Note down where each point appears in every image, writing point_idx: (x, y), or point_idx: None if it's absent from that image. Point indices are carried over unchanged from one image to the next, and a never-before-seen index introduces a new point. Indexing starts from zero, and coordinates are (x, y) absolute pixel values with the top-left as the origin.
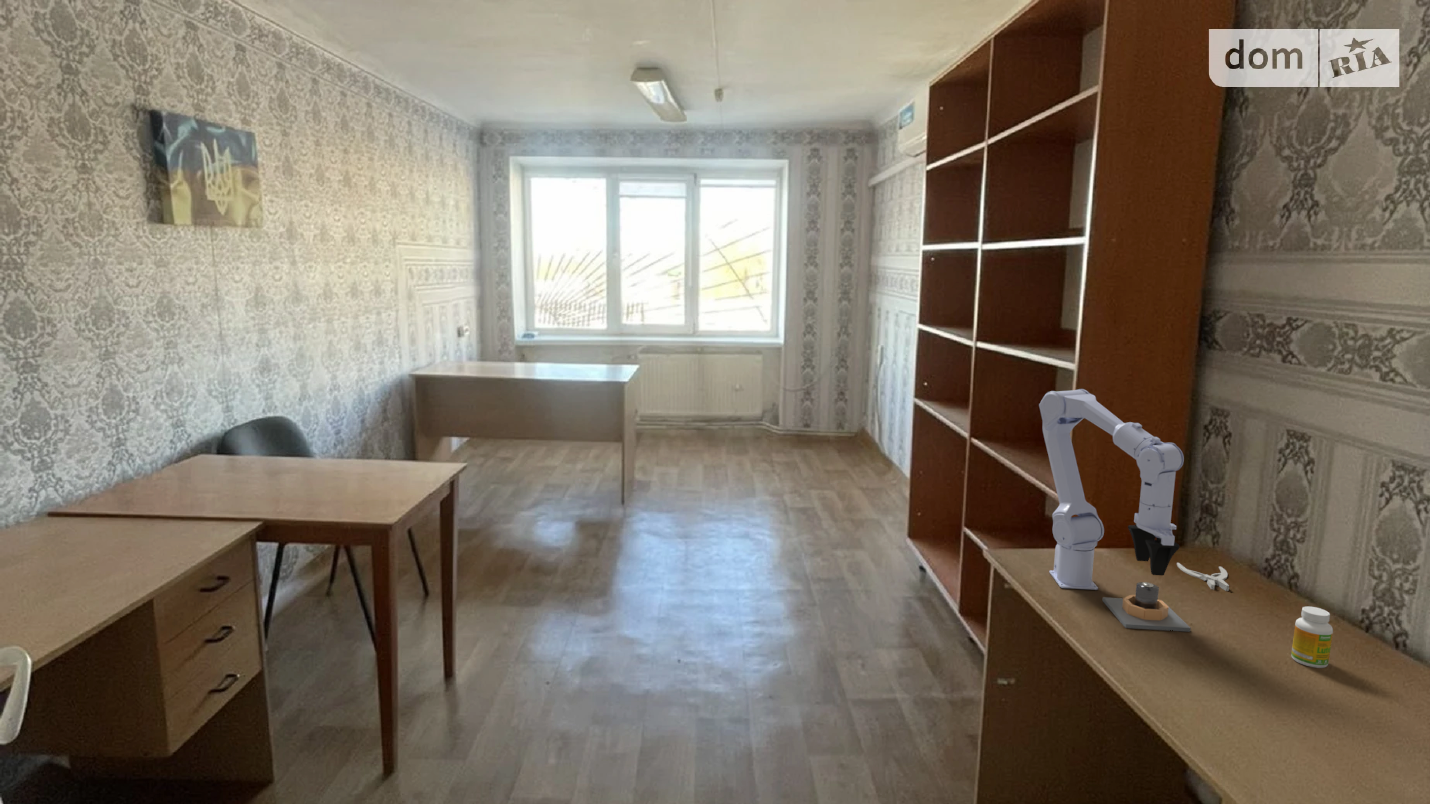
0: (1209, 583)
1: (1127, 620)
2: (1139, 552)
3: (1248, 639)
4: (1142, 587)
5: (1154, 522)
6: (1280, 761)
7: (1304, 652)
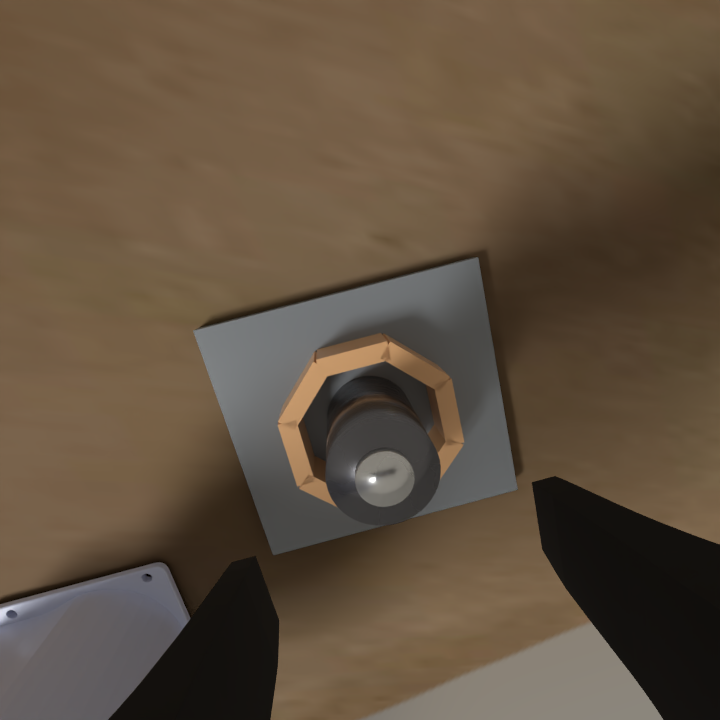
0: None
1: (480, 482)
2: (263, 686)
3: (473, 10)
4: (421, 501)
5: None
6: None
7: None
